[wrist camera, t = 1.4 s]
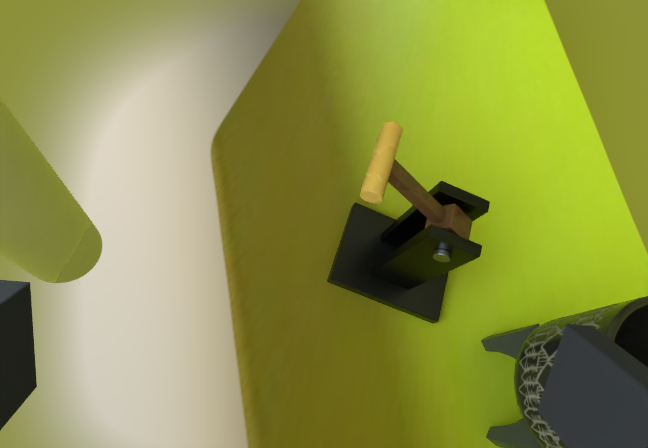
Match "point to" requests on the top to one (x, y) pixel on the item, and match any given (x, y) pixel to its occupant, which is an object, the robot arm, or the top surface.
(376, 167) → the lever
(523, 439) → the planter
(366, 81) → the top surface
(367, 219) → the bracket
